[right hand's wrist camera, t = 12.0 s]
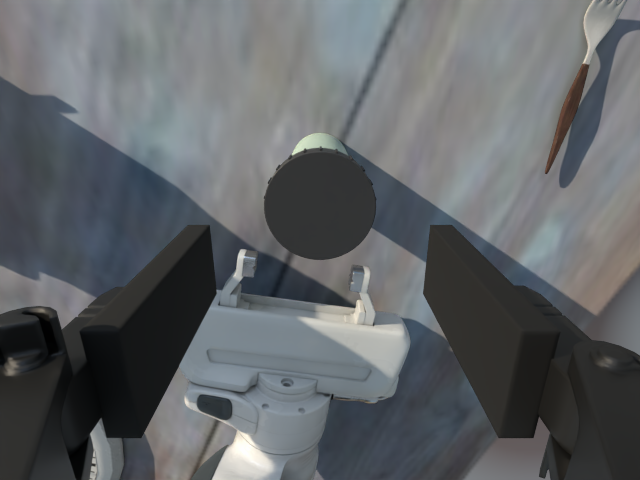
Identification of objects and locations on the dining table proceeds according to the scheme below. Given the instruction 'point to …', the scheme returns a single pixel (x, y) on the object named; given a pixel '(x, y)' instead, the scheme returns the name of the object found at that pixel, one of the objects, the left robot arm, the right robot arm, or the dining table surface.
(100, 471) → the wall clock
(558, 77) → the dining table surface
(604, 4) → the fork
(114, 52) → the dining table surface
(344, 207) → the lid
